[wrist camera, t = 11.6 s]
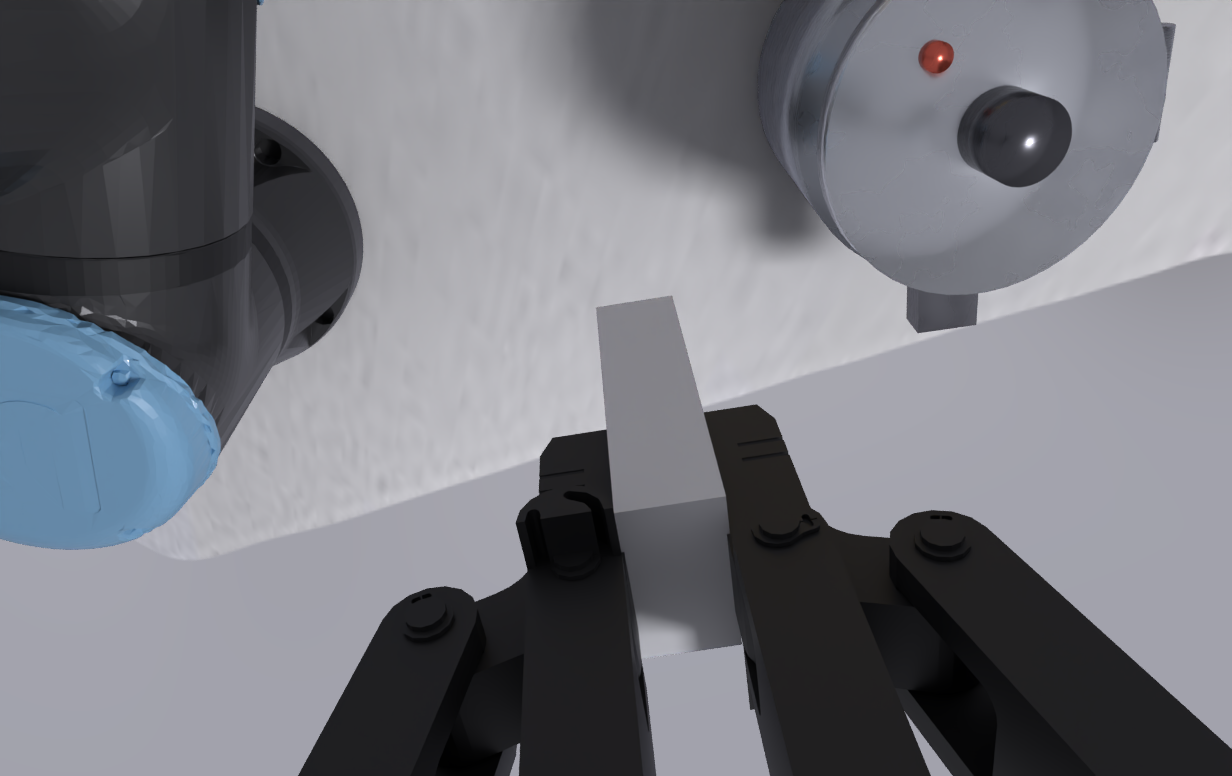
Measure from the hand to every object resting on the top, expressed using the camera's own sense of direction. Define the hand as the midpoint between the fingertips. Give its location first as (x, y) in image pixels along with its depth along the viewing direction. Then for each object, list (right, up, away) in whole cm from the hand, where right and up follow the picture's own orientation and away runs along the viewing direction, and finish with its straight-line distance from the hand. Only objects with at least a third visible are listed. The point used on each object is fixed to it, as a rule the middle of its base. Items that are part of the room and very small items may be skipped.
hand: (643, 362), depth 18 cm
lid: (+15, +11, +21) cm, 28 cm away
